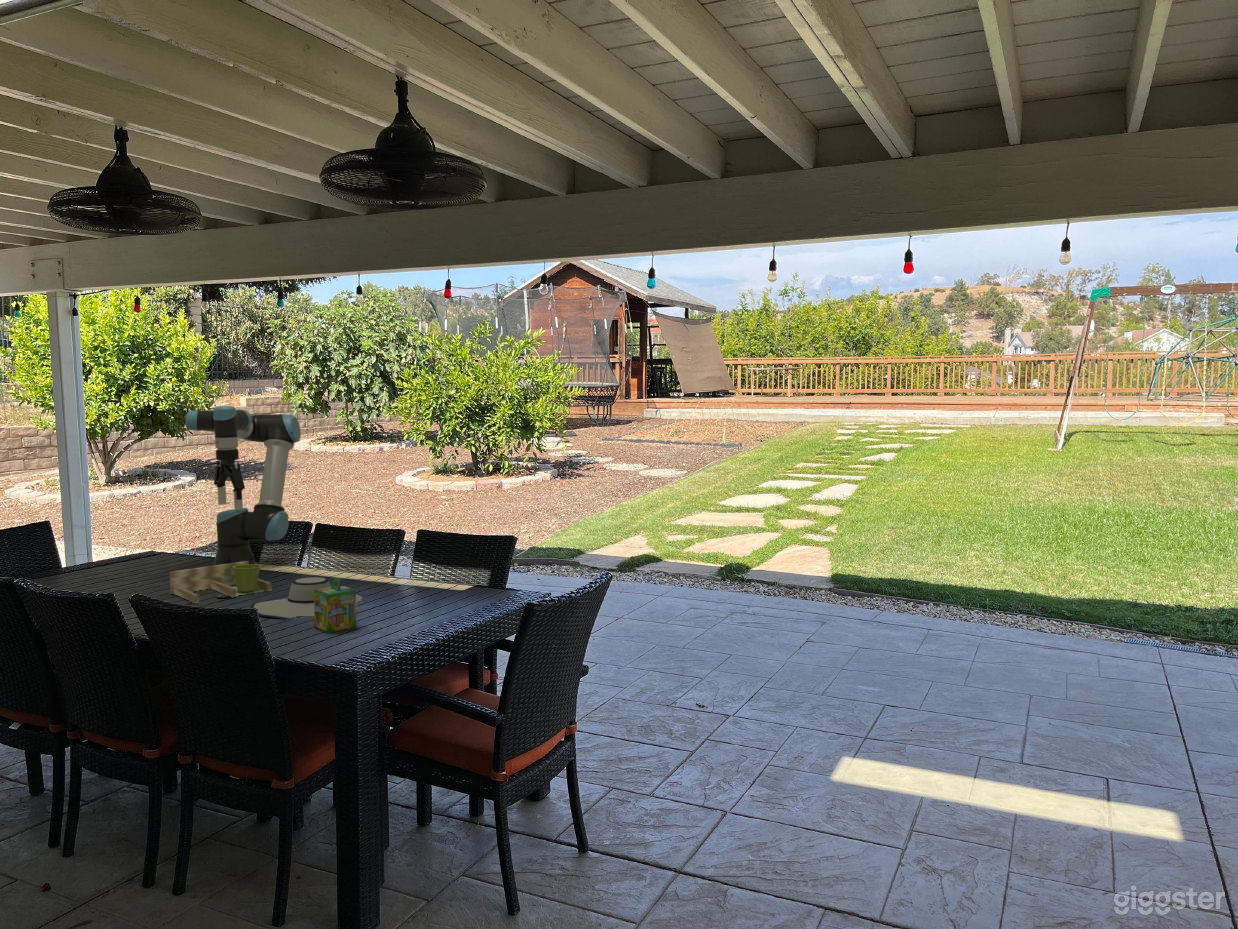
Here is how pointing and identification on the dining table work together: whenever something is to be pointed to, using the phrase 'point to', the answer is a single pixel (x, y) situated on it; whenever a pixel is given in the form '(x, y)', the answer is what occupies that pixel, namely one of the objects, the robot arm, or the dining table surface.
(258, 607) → the sun hat
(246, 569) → the plant pot
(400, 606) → the dining table surface
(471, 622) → the dining table surface
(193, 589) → the notch rack
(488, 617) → the dining table surface
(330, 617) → the chalk box
